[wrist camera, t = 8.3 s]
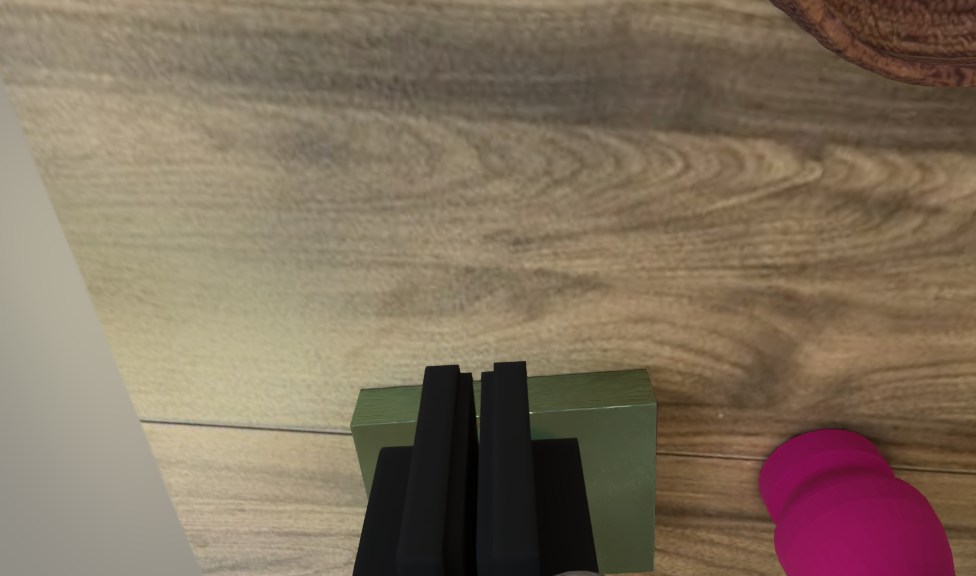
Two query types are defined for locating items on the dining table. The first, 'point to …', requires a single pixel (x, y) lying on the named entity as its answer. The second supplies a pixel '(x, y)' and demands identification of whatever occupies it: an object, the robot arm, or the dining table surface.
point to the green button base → (561, 414)
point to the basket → (896, 36)
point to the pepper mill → (848, 511)
